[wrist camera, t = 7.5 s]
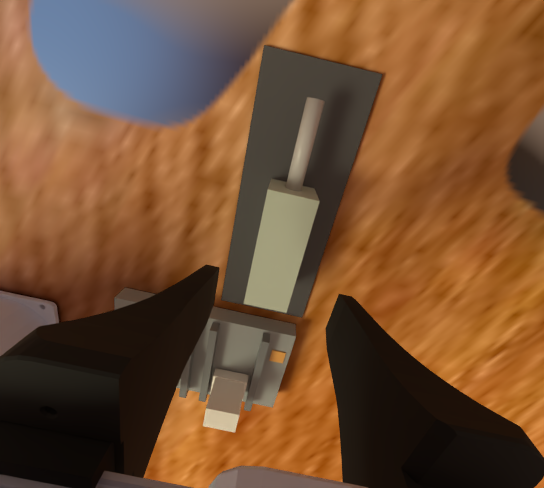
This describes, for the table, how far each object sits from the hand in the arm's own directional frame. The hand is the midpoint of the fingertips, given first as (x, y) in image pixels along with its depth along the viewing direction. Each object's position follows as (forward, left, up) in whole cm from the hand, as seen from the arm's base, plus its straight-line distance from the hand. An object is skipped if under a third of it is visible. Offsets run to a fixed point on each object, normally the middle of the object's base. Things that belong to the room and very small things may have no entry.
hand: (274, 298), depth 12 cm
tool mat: (0, +2, -8) cm, 9 cm away
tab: (-1, -14, -7) cm, 16 cm away
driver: (0, +2, -8) cm, 9 cm away
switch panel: (-4, -12, -8) cm, 16 cm away
